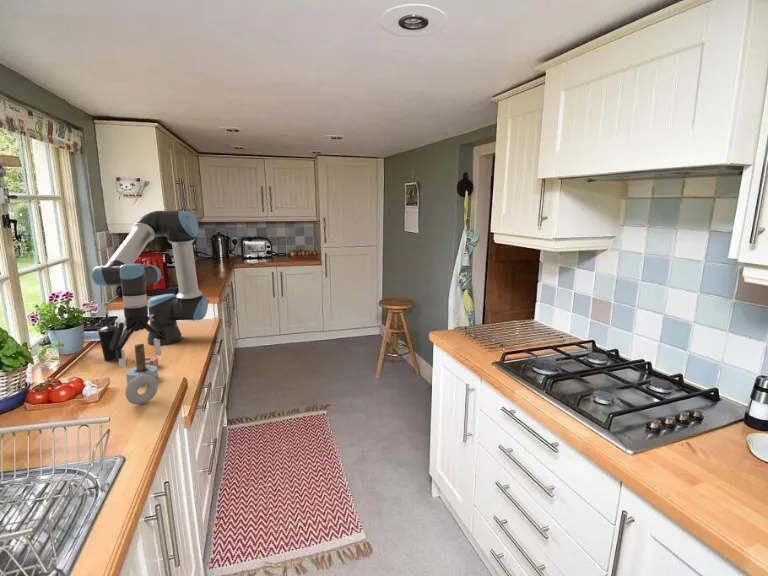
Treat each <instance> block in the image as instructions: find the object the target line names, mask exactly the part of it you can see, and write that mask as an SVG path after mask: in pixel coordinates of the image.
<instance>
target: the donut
mask: <svg viewBox="0 0 768 576" xmlns="http://www.w3.org/2000/svg"><path fill="white" fill-rule="evenodd" d="M157 380H158V379H157ZM157 380H156V379H155V378H154V377H153V376H151V375H146V374H143V375H139V376H137V377H135V378H133V379H132V380H131V381H130V382H129V384H127V385H126V387H125V393H124V394H125V398H126V400H127V401H128V402H129V403H130V404H133V405H138V406H139V405H140V406H141V405H143V404H146V403H148V402H149V401H151V400H152V399H154V397H155V396H156V395H157V392H158V389H159V388H158V387H159V385H158V381H157ZM143 385H145V386H146V389H145V391H144V392H142V393H138V391H139V388H140V387H141V386H143Z"/></svg>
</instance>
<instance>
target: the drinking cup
mask: <svg viewBox="0 0 768 576" xmlns="http://www.w3.org/2000/svg"><path fill="white" fill-rule="evenodd" d="M105 321H106V325H105V326H102V327H100V328H97V330H96V331H97V333H98V336H99V337H98V338H99V341H100V345H101V349H102V351H101V352H102V354H103V359H104V361H106V362H110V361H115V360H118V359H117V358H116V352H115V350H111V349H109V346H110V343H111V340H112V338H113V335H114V332H115V330H116V325H110V324H109V323H110V322H109V315H108V313H106V314H105Z"/></svg>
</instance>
